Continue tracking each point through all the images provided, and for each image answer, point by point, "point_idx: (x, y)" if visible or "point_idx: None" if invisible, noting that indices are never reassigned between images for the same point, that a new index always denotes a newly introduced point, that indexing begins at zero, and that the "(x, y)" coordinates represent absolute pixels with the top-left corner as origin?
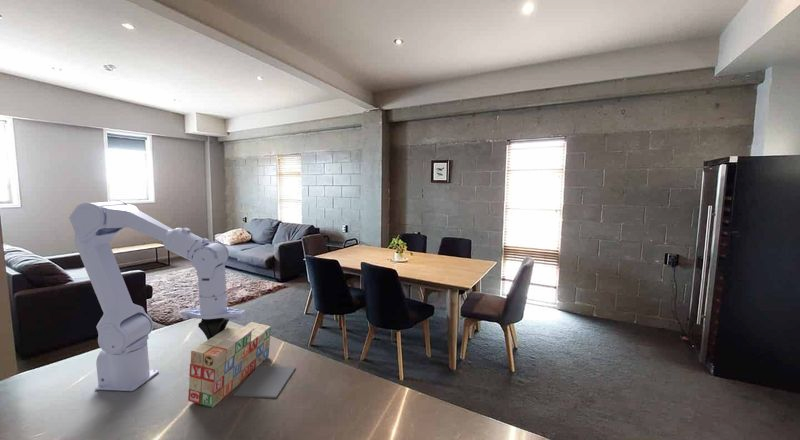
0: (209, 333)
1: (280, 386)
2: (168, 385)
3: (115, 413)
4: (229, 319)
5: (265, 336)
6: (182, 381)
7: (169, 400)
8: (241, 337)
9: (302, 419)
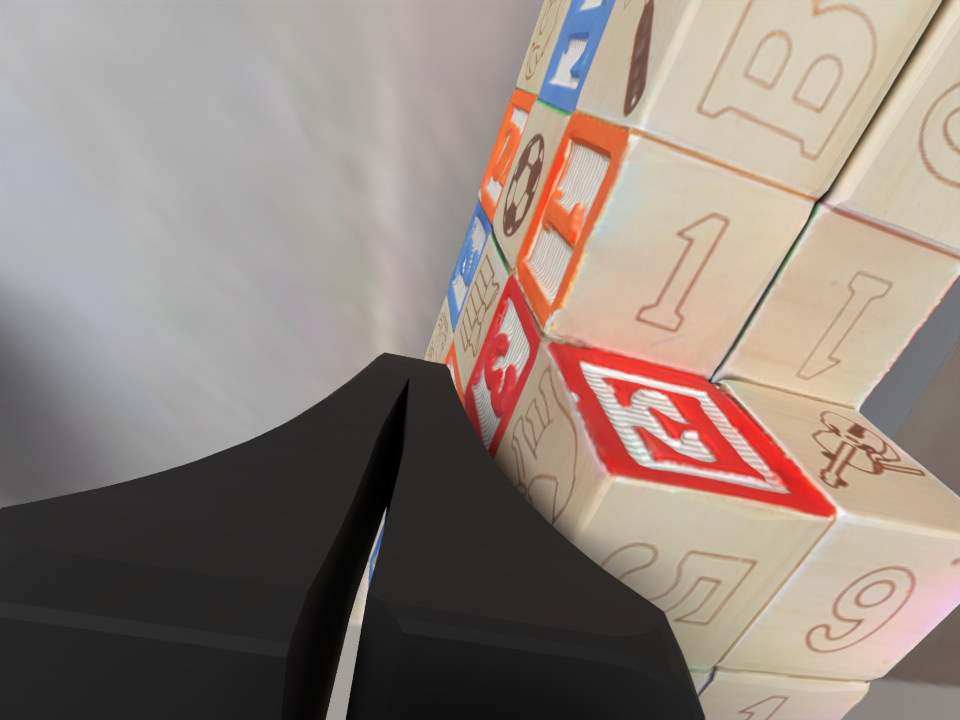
0: (331, 688)
1: (883, 426)
2: (117, 292)
3: (37, 499)
4: (653, 609)
5: None
6: (184, 256)
7: (245, 441)
8: (838, 710)
9: (940, 630)
